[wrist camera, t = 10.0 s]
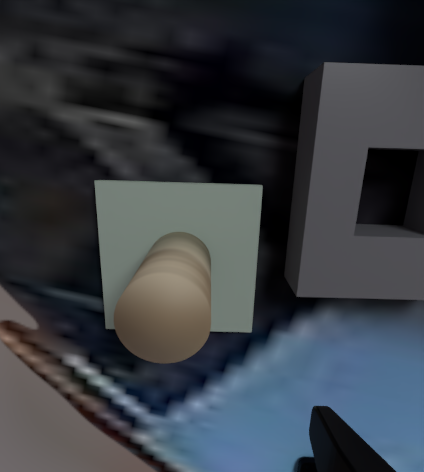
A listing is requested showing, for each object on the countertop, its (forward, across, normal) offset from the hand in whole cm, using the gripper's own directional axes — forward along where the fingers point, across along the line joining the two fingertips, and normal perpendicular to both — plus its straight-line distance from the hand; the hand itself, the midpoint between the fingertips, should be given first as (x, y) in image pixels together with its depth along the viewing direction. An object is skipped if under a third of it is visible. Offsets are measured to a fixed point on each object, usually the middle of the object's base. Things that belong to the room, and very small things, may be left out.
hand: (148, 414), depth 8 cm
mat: (+12, 0, 0) cm, 12 cm away
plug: (+11, 0, 0) cm, 11 cm away
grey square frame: (+12, -12, -5) cm, 17 cm away
